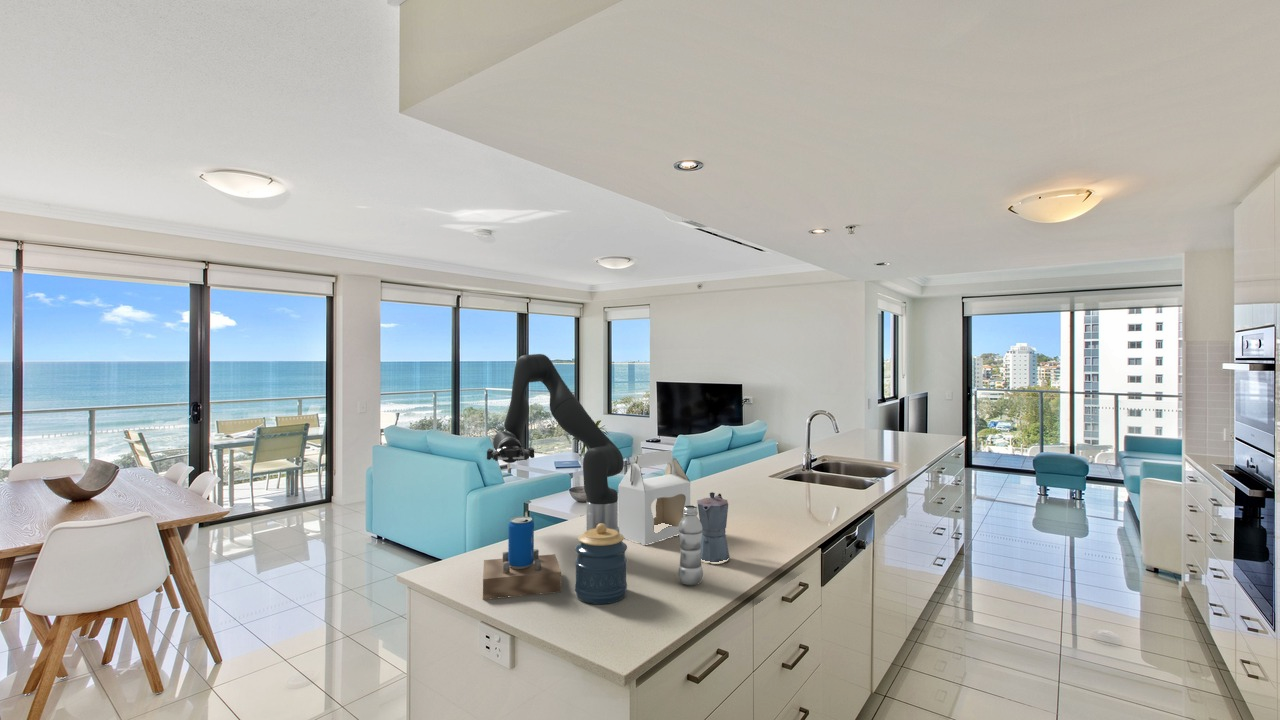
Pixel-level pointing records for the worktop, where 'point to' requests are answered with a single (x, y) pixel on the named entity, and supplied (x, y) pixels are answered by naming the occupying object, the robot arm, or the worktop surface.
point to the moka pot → (713, 528)
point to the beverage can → (521, 542)
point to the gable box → (652, 498)
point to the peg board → (521, 577)
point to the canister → (601, 566)
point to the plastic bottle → (690, 547)
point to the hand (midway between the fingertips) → (511, 456)
